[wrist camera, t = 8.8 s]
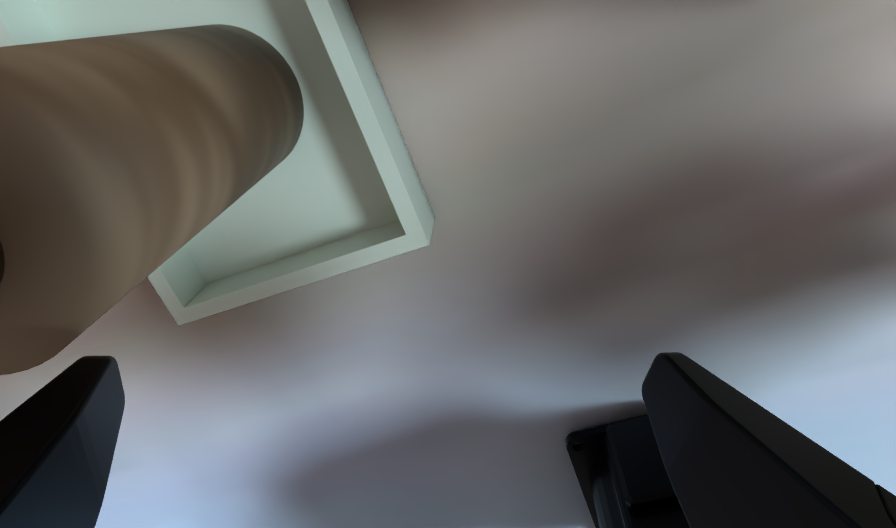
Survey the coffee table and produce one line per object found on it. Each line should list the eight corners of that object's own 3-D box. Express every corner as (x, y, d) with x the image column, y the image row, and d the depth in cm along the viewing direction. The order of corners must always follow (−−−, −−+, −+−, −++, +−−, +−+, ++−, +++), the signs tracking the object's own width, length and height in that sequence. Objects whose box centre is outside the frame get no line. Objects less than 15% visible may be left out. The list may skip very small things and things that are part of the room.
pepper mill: (328, 148, 20) (17, 470, 6) (204, 193, 21) (-297, 559, 7) (261, 0, 18) (-388, 10, 4) (128, 56, 19) (-747, 208, 5)
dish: (435, 218, 21) (429, 245, 19) (208, 293, 23) (178, 326, 21) (274, -179, 17) (241, -208, 14) (4, -42, 19) (-62, -47, 16)
